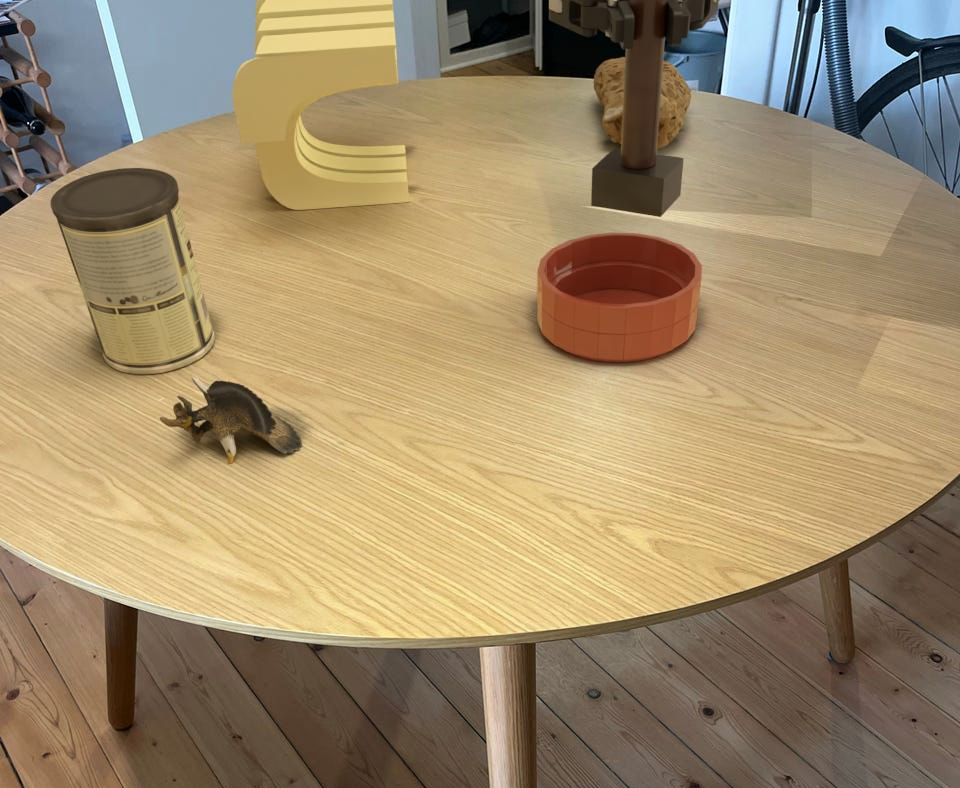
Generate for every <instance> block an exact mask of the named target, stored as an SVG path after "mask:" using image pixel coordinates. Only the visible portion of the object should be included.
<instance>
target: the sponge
mask: <svg viewBox="0 0 960 788" xmlns="http://www.w3.org/2000/svg"><path fill="white" fill-rule="evenodd" d="M624 75H625V56H621V57H619V58H618V57H617V58H610V59H607V60H605V61H602V63H601V64H600V65H599V66H598V67H597V68H596V69H595V73H594V75H593V89H594V92H595V94H596V97H597V100H598V101H599V103H600V104H601V105H602V107H603V108H604V109H603V115H602V119H601V121H602V127H603V130H604V132H605V133H606V135H607V136H608V137H610V139H611V141H612V142H613V143H615V144H617V143H619V144H620V145H621V138H622V117H623V96H624ZM691 99H692V89H691V88H690V87H689V85H688V83H687V81H686V79H685V78H684V77H683V76H682V75H681V74H680V72H679V71H678V69H677V68H676V66H675V65H674V64H672V63H670V62H668V61H665V60H664V59H663V72H662V86H661V100H660V113H659V127H658V141H657V151H658V150H660V149H662V148H663V149H664V148H665V147H666V146H668V145H669V144H670V143H671V142H672V141H673V140H675V138H676V137H677V136H678V135H679V134H680V130H682V129H683V126H684V123H685V117H686V114H687V111H688V109H689V107H690V104H691Z"/></svg>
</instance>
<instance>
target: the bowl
mask: <svg viewBox="0 0 960 788" xmlns="http://www.w3.org/2000/svg"><path fill="white" fill-rule="evenodd" d="M536 273H537V274H536V276H537V278H536V279H537V282H536V283H537V284H536V285H537V286H536V287H537V289H536V291H537V292H536V294H537V295H536V297H537V300H536V301H537V303H536V304H537V311H536V312H537V324H538V327H539V330H540V332H541V334H542V335H543V336H544V337H545V338H546V339H547V340H548V341H549V342H550V343H552V345H554V346H556V347H558V348H560V349H561V350H563V351H564V352H566V353H568V354H571V355H573V356H576V357H579V358H583V359H586V360H589V361H590V360H591V361H596V362H604V363H629V362H638V361H645V360H649V359H653V358H655V357H659V356H662V355H664V354H666V353H668V352H671V351H673V350H674V349H676V348H677V347H679V346H681V345H683V344H684V343H685V342H687V341H688V339H689V338H690V337H691V336H692V334H693V333H694V332H695V330H696V327H697V321H698V320H697V318H698V310H699V301H700V293H701V286H702V279H703V278H702V277H703V275H702V274H703V264H702V263H701V262H700V260H699V258H697V256H696V254H695V253H694V252H692V251H691V250H690V249H688V248H686V247H685V246H683V245H682V244H680V243H677V242H675V241H672V240H669V239H666V238H663V237H660V236H654V235H649V234H644V233H636V232H606V233H605V232H604V233H597V234H596V233H595V234H588V235H584V236H580V237H577V238H573V239H569V240H567V241H565V242H563V243H560V244H559V245H556V246H555V247H552V248H551V249H549V251H548V252H547V253H545V255H543V257H541V258H540V260H539V264H538V267H537V271H536Z"/></svg>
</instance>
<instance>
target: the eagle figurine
mask: <svg viewBox="0 0 960 788" xmlns="http://www.w3.org/2000/svg"><path fill="white" fill-rule="evenodd" d="M190 379H191V381H192V383H193V384H194V385H195V386H196V387H197V388H198V390H200V391H201V393H202V394H203V396H204V399H205V401H206V403H207V404H206V405H205V406H202V407H200V408H199V409H196V410H193V404H192V402H190V401H189V400H187V399H186V398H185V397H183V396H181V395H177V398H178V399H179V400H180V402H177V403H174V404H173V407H172V410H173V414H174V415H175V418H174V419H173V418H167V417H164V416H160V417H159V420H160V422H162V424H164V425H165V426H167V427H168V428H180V429H183V430H184V431H186V432H188V433H189V434H190V436H191V437H192V439H193V441H194V443H200V442H201V439H202V438H203V436H204V434H206V433H208V432H209V431H214V433H215V435H216V437H217V439H218V441H219V442H220V444H221V446H222V447H223V449H224V451H225V454H226V456H227V458H228V461H227V463H228V464H232V463H233V462H234V460H235V459H234V458H235V455H236V453H237V446H236V442H235V436H234V435H235V434H236V433H237V432H248V433H250V434H253V435H255V436H256V437H259V438H260V439H262V440H263V441H265V442H267V443H268V444H269V445H270V446H271V447H272V448H274V449H275V450H277V451H278V452H280V454H283V455H286V454H287V453H288V454H289V453H290V454H293V453H294V452H295V451H299V450H301V447H302V446H303V443H302V442H301V441H302V437H300V436H299V435H298V432H297V431H296V430H295V429H294V427H292V426H291V424H290V423H287V421H285V420H283V419H281V418H280V417H279V416H277V415H274V414H273V413H272V411H271V410H270V409H269V407H268V405H267V404H266V403H264V402H263V401H264V400H263V399H262V398H260V397H259V396H258V394H256V393H255V392H254V391H253V390H251V389H250V388H249V387H248V386H247V387H246V386H245V385H244V384H241V383H236V382H233V381H226V380H215V381H213V383H211V384H210V385H209V386H207V385H205V383H203V382H202V381H201V380H200V379H199V378H198V377H194V376H191V377H190ZM203 421H204V422H203ZM199 422H202V423H201V424H200V425H199V426H198V425H196V423H199Z"/></svg>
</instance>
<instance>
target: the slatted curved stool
mask: <svg viewBox="0 0 960 788" xmlns="http://www.w3.org/2000/svg"><path fill="white" fill-rule="evenodd" d="M254 13H255V15H254V16H255V23H254V33H255V38H254V39H255V40H254V58H251V59H248V60H246V61H244V62H243V63H242V64H240V66H239V67H238V69H237V71H236V74H235V77H234V80H233V84H232V90H231V91H232V93H231V97H232V105H233V109H234V114H235V119H236V125H237V129H238V135H239V140H240V144H242V145H243V144H254V147H255V151H256V156H257V159H258V164H259V168H260V174H261V178H262V181H263V183H264V185H265V188H266V189H267V191H268V192H269V194H270V195H271V196H272V197H273V198H274V200H275V201H277V202H278V203H279V204H281V205H282V206H284V207H285V208H287V209H291V210H295V211H303V210H304V211H306V210H318V209H319V210H321V209H332V208H345V207H360V206H362V207H363V206H374V205H388V204H399V203H400V204H401V203H410V195H409V182H408V179H409V178H408V165H407V164H408V163H407V153H406V144H396V145H395V144H394V145H369V146H362V145H361V146H360V145H359V146H358V145H343V144H336V143H331V142H327V141H326V142H325V141H323V140H320V139H318V138H316V137H314V136H313V135H311V134H310V133H309V132H308V130H307V129H306V128H305V126H304V124H303V121H302V117H301V114H302V113H303V111H304V110H305V109H306V108H307V107H308V106H309V105H311V104H312V103H314V102H317V101H318V100H320V99H322V98H325V97H328V96H332V95H334V94H339V93H343V92H346V91H353V90H359V89H365V88H373V87H380V86H389V85H399V71H398V53H397V39H396V38H397V37H396V26H395V24H396V23H395V12H394V0H256V4H255V12H254Z"/></svg>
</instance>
